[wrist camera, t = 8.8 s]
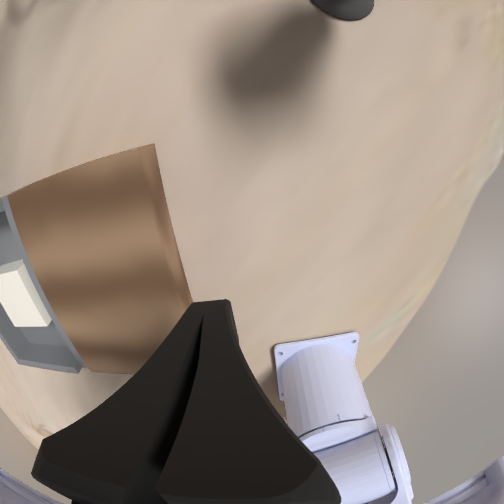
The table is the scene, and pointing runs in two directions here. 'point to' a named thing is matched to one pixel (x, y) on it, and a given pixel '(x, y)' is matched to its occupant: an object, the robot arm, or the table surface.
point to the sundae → (346, 8)
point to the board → (106, 256)
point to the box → (32, 338)
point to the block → (21, 297)
